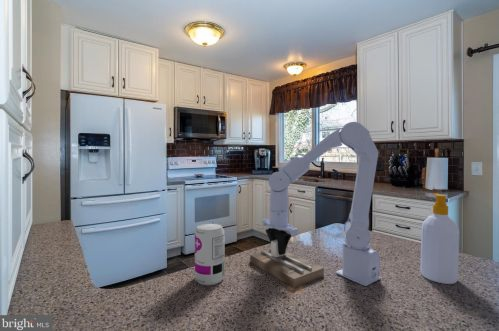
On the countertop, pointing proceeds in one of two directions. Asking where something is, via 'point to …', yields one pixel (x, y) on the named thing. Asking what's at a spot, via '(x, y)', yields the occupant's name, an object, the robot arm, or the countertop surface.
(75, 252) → the countertop surface
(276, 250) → the block
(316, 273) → the tan slider track board
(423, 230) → the soap bottle
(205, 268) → the supplement can
